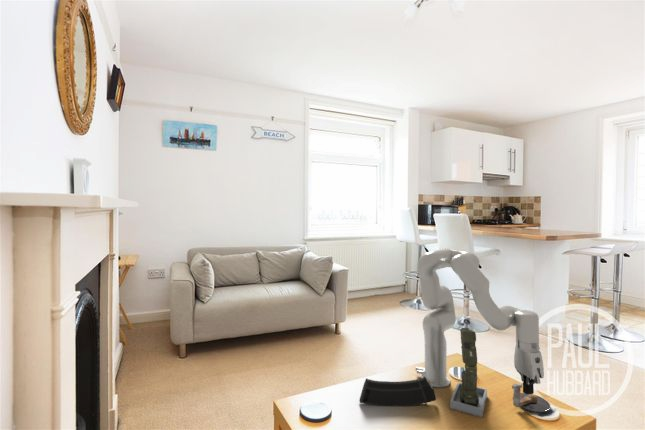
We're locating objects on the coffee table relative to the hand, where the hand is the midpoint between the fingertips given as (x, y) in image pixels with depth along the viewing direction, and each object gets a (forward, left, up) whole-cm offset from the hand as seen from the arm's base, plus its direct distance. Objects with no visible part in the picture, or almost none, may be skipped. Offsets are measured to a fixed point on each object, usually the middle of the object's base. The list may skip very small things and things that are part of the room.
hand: (528, 393), depth 131 cm
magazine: (-46, -15, -10) cm, 49 cm away
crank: (-1, +8, -8) cm, 11 cm away
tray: (-21, 0, -10) cm, 23 cm away
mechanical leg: (-21, +1, -10) cm, 23 cm away
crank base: (+1, +11, -10) cm, 15 cm away
